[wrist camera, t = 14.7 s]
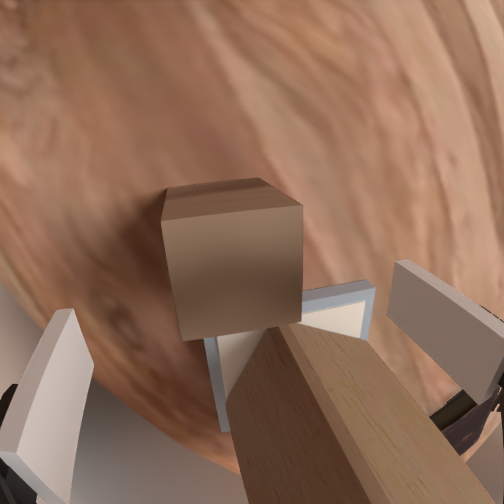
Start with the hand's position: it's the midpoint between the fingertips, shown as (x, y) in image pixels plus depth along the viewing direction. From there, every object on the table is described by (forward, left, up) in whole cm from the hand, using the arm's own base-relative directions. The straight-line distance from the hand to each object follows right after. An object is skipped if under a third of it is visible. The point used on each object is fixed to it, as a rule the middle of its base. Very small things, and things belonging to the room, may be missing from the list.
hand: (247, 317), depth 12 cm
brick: (0, 0, -11) cm, 11 cm away
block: (+12, +5, -9) cm, 16 cm away
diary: (+44, +39, -11) cm, 59 cm away
